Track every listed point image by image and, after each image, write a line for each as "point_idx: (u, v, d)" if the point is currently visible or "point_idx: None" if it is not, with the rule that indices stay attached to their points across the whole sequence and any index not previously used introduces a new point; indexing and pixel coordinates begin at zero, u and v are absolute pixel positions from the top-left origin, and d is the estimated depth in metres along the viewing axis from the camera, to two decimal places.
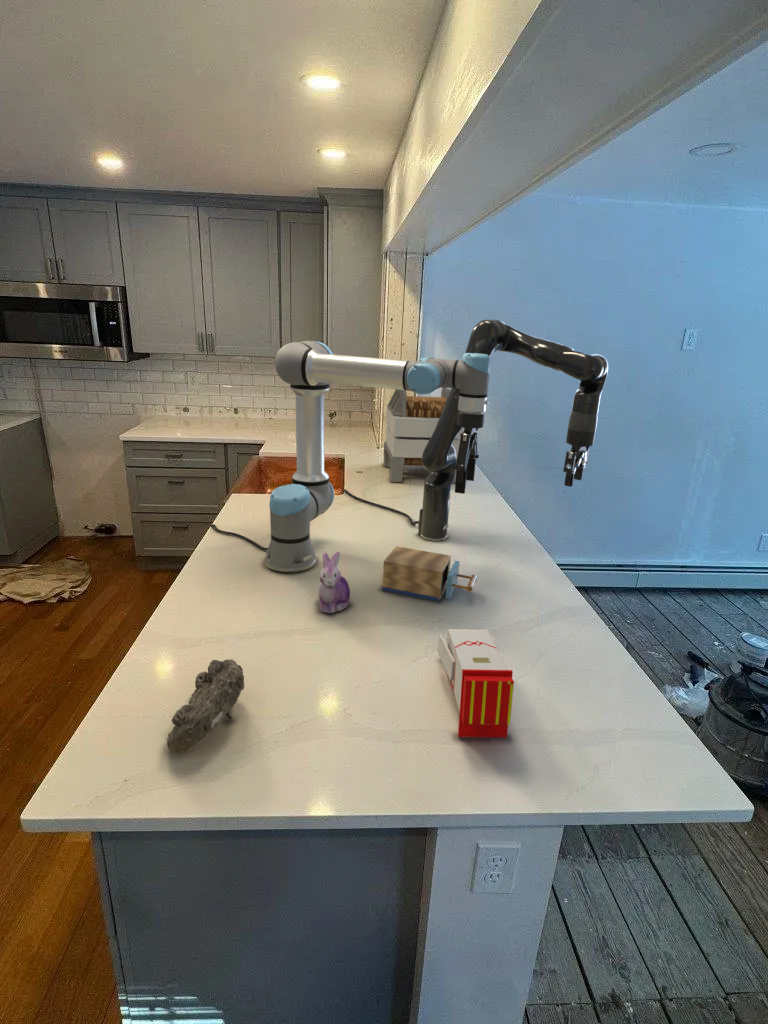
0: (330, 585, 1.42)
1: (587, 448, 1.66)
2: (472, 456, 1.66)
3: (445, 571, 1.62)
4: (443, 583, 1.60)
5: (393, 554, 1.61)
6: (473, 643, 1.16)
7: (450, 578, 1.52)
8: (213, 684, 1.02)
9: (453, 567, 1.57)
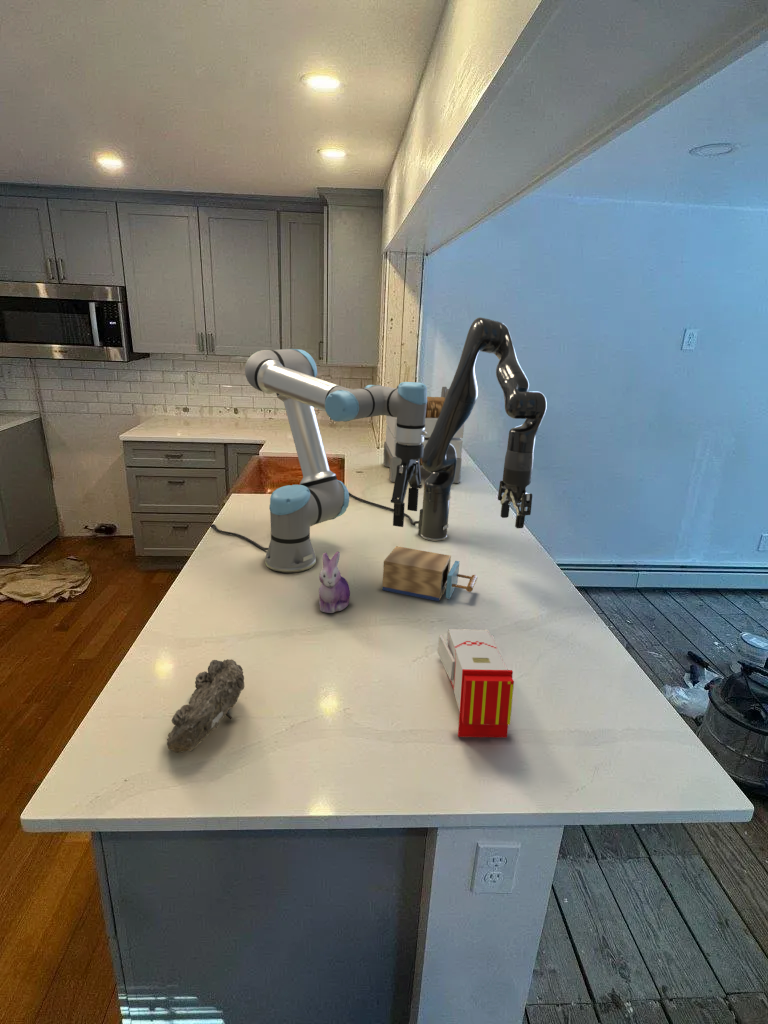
0: (330, 585, 1.42)
1: None
2: (415, 486, 1.61)
3: (445, 571, 1.62)
4: (443, 583, 1.60)
5: (393, 554, 1.61)
6: (473, 643, 1.16)
7: (450, 578, 1.52)
8: (213, 684, 1.02)
9: (453, 567, 1.57)
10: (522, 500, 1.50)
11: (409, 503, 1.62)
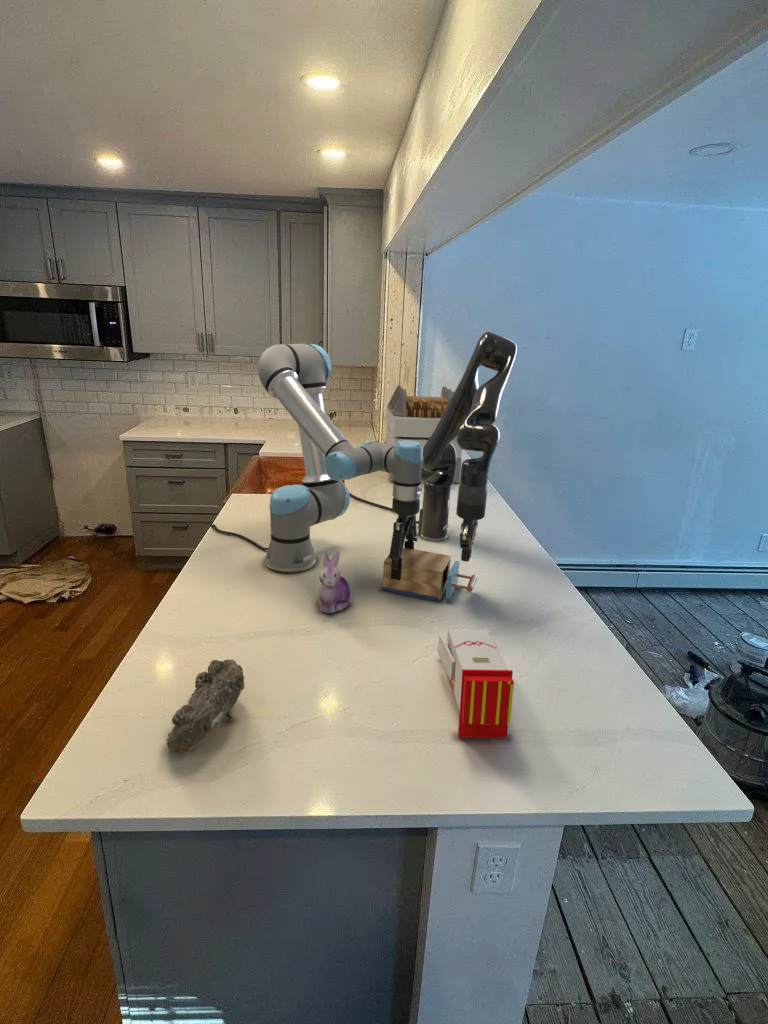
0: (330, 585, 1.42)
1: None
2: (410, 539, 1.65)
3: (445, 571, 1.62)
4: (443, 583, 1.60)
5: None
6: (473, 643, 1.16)
7: (450, 578, 1.52)
8: (213, 684, 1.02)
9: (453, 567, 1.57)
10: (460, 537, 1.48)
11: None
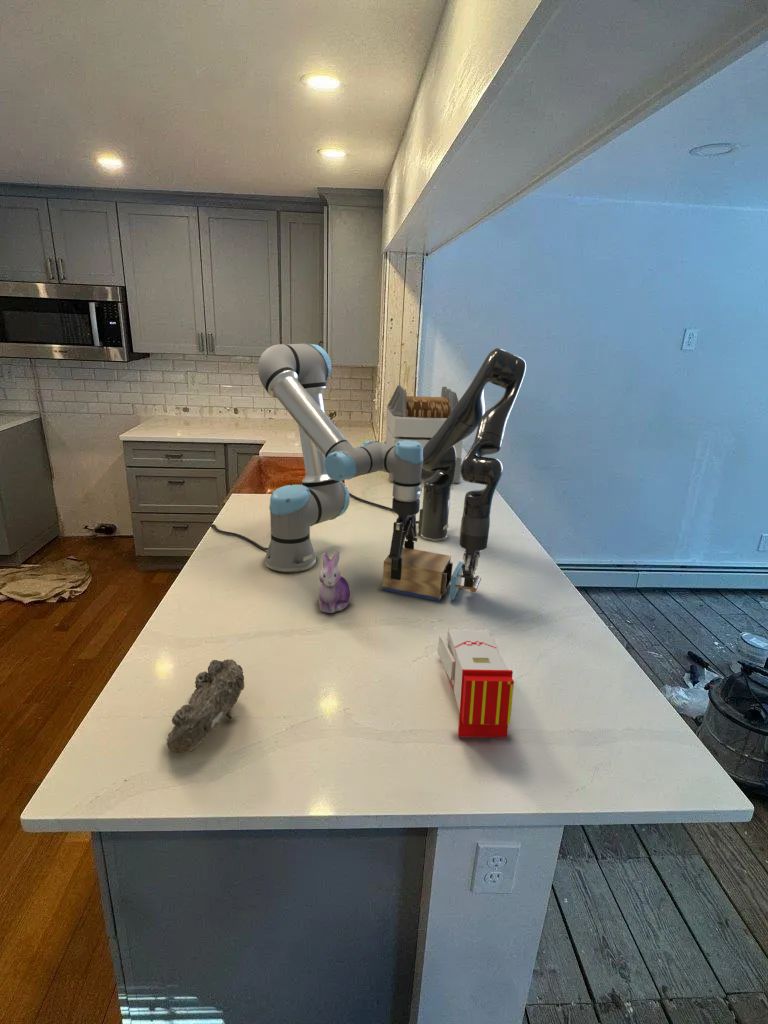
0: (330, 585, 1.42)
1: None
2: (410, 539, 1.65)
3: (449, 572, 1.61)
4: (447, 584, 1.60)
5: None
6: (473, 643, 1.16)
7: (454, 579, 1.52)
8: (213, 684, 1.02)
9: (457, 568, 1.57)
10: None
11: None
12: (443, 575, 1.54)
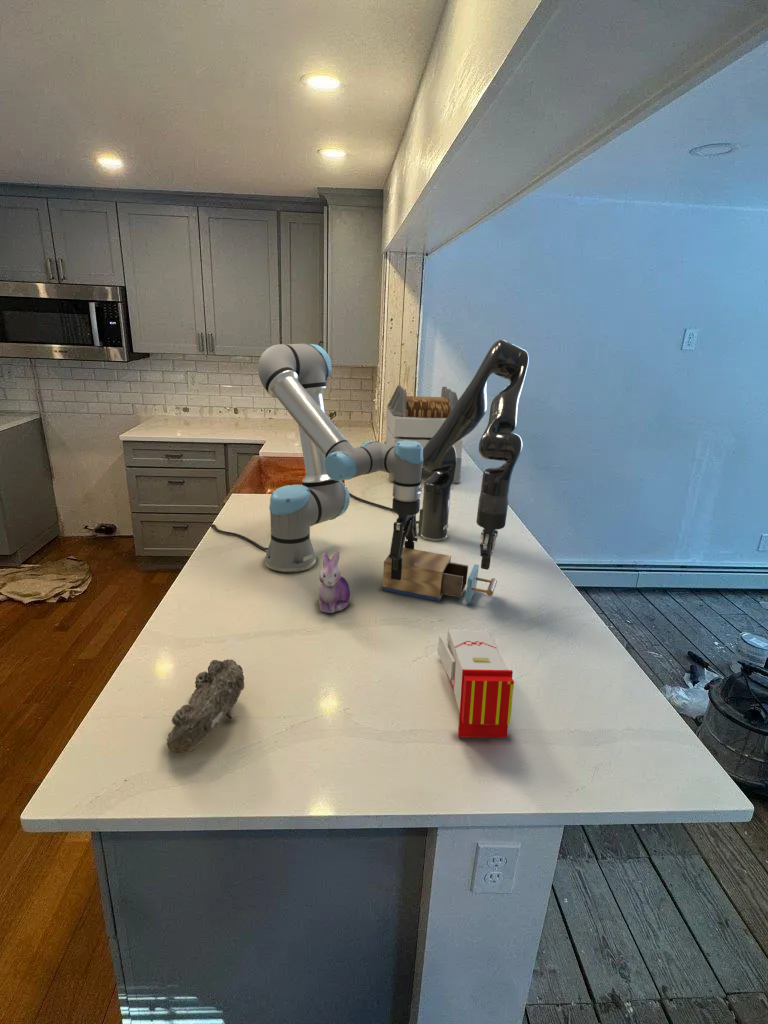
0: (330, 585, 1.42)
1: None
2: (411, 539, 1.65)
3: (464, 575, 1.60)
4: (462, 587, 1.59)
5: None
6: (473, 643, 1.16)
7: (470, 582, 1.51)
8: (213, 684, 1.02)
9: (473, 571, 1.55)
10: None
11: None
12: (459, 578, 1.52)
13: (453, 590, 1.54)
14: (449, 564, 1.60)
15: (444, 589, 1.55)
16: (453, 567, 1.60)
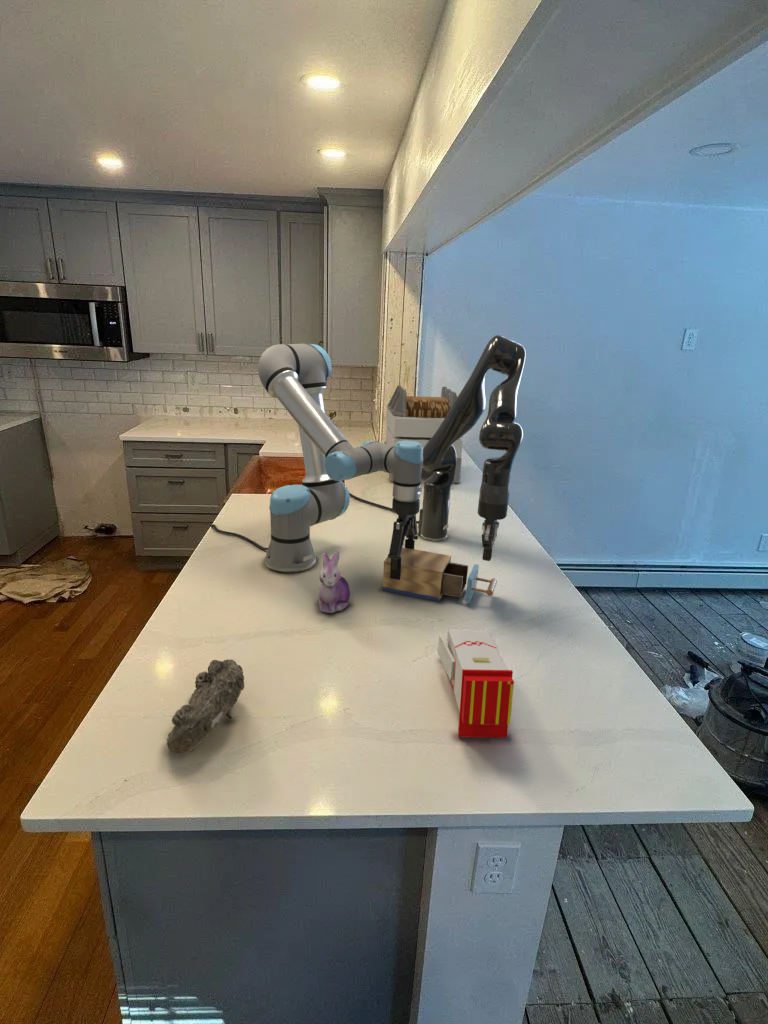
0: (330, 585, 1.42)
1: None
2: (411, 537, 1.66)
3: (464, 575, 1.60)
4: (462, 587, 1.59)
5: None
6: (473, 643, 1.16)
7: (470, 582, 1.51)
8: (213, 684, 1.02)
9: (473, 571, 1.55)
10: None
11: None
12: (459, 578, 1.52)
13: (453, 590, 1.54)
14: (449, 564, 1.60)
15: (444, 589, 1.55)
16: (453, 567, 1.60)
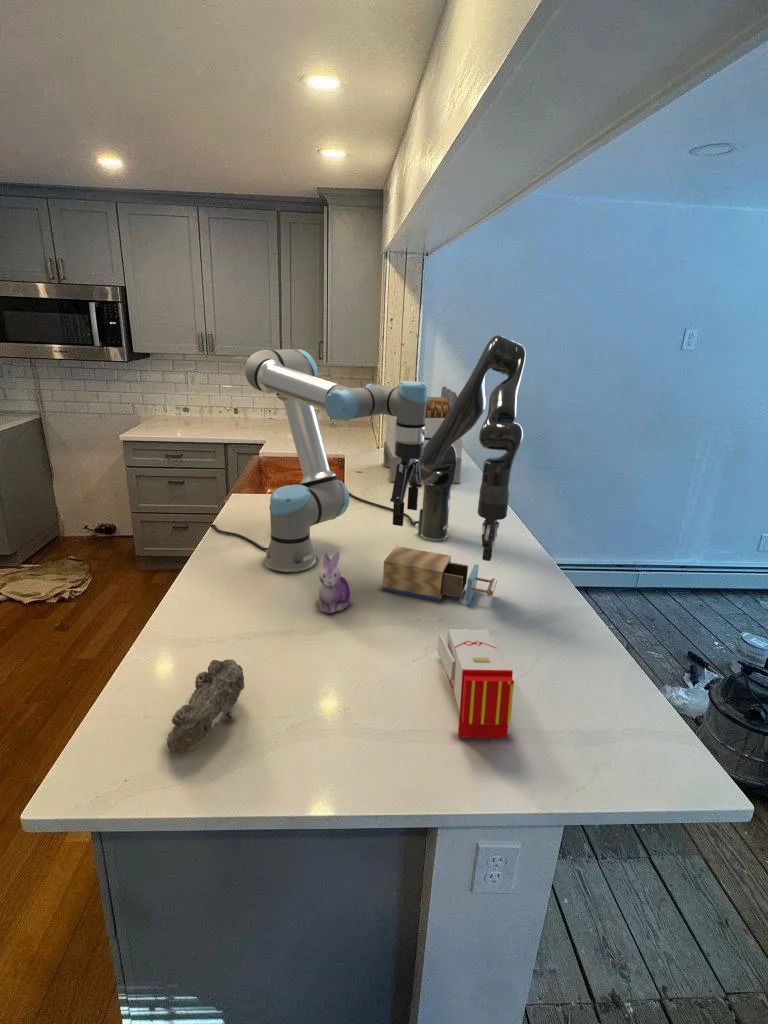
0: (330, 585, 1.42)
1: None
2: (414, 485, 1.60)
3: (464, 575, 1.60)
4: (462, 587, 1.59)
5: (393, 554, 1.61)
6: (473, 643, 1.16)
7: (470, 582, 1.51)
8: (213, 684, 1.02)
9: (473, 571, 1.55)
10: None
11: (409, 502, 1.62)
12: (459, 578, 1.52)
13: (453, 590, 1.54)
14: (449, 564, 1.60)
15: (444, 589, 1.55)
16: (453, 567, 1.60)
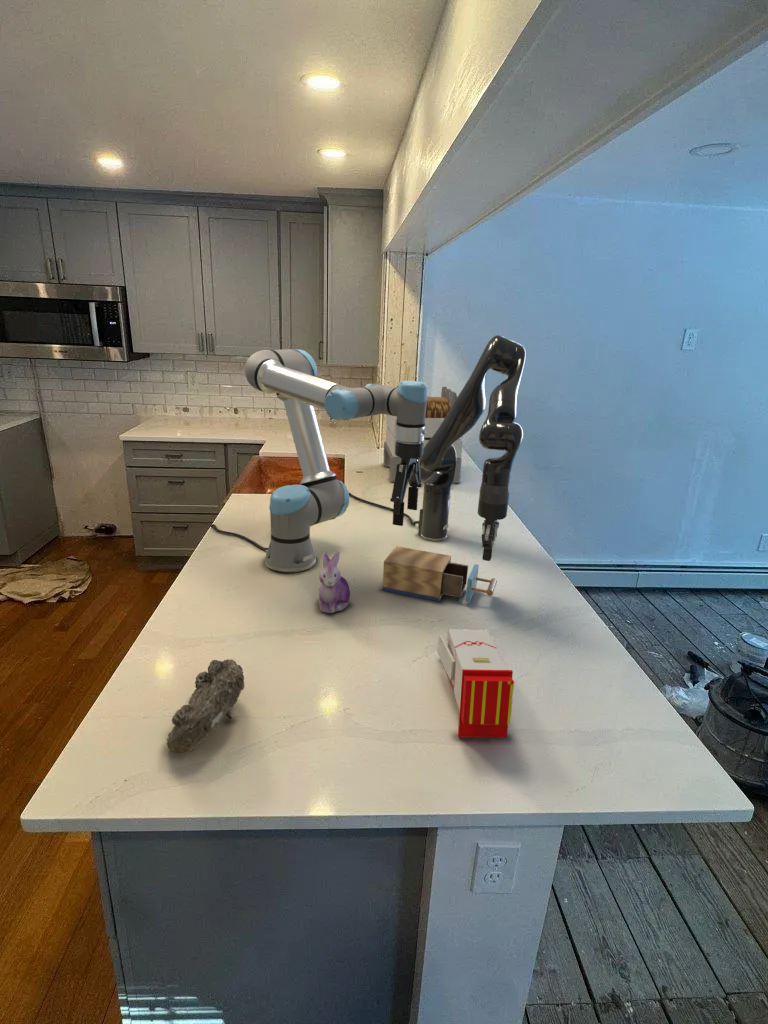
0: (330, 585, 1.42)
1: None
2: (414, 485, 1.60)
3: (464, 575, 1.60)
4: (462, 587, 1.59)
5: (393, 554, 1.61)
6: (473, 643, 1.16)
7: (470, 582, 1.51)
8: (213, 684, 1.02)
9: (473, 571, 1.55)
10: None
11: (409, 502, 1.62)
12: (459, 578, 1.52)
13: (453, 590, 1.54)
14: (449, 564, 1.60)
15: (444, 589, 1.55)
16: (453, 567, 1.60)
